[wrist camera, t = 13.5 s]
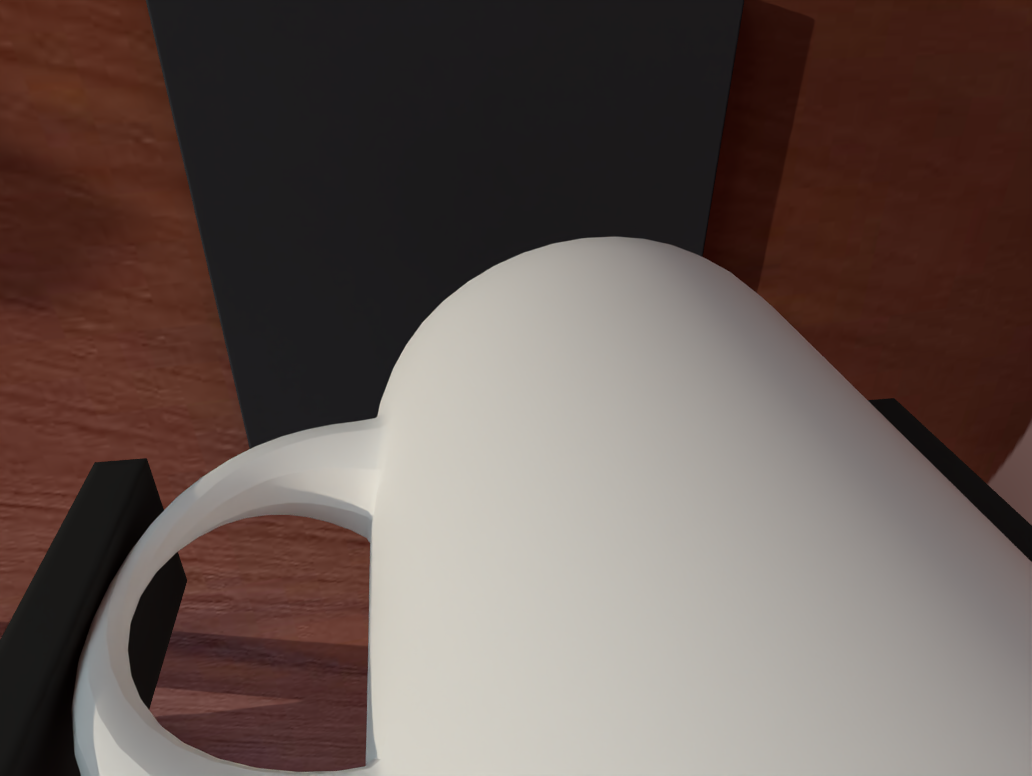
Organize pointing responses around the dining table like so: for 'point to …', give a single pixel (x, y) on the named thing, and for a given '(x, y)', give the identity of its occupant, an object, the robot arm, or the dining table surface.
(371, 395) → the mat
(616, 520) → the mug
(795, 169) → the dining table surface
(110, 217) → the dining table surface
